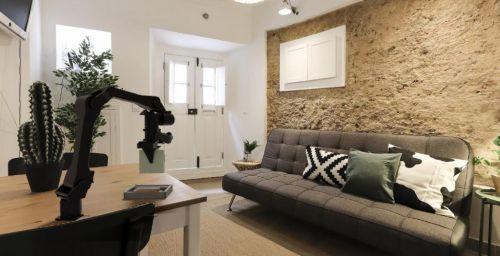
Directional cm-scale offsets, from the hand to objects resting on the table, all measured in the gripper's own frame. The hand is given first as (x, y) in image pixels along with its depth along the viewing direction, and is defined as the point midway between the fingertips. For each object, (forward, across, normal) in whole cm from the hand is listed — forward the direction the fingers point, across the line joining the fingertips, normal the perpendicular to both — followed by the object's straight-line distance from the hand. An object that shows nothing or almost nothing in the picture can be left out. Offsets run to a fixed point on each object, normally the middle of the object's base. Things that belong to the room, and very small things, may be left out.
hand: (152, 163), depth 112 cm
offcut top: (+11, -6, 0) cm, 12 cm away
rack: (+13, -4, 0) cm, 13 cm away
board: (+4, 0, 0) cm, 4 cm away
